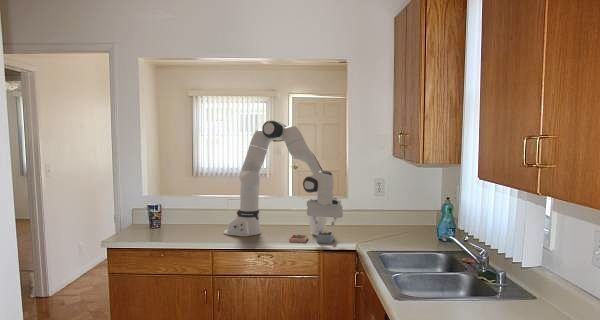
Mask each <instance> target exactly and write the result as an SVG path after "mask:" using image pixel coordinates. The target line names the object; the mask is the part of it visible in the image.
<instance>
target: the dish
mask: <svg viewBox="0 0 600 320" xmlns="http://www.w3.org/2000/svg"><path fill="white" fill-rule="evenodd" d="M296 235H297V234H291V235H290V236H289V238H288V242H289V243H306V242H307V240H308V239H309V235H308V234H300V235H301V239H297V238H296Z"/></svg>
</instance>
